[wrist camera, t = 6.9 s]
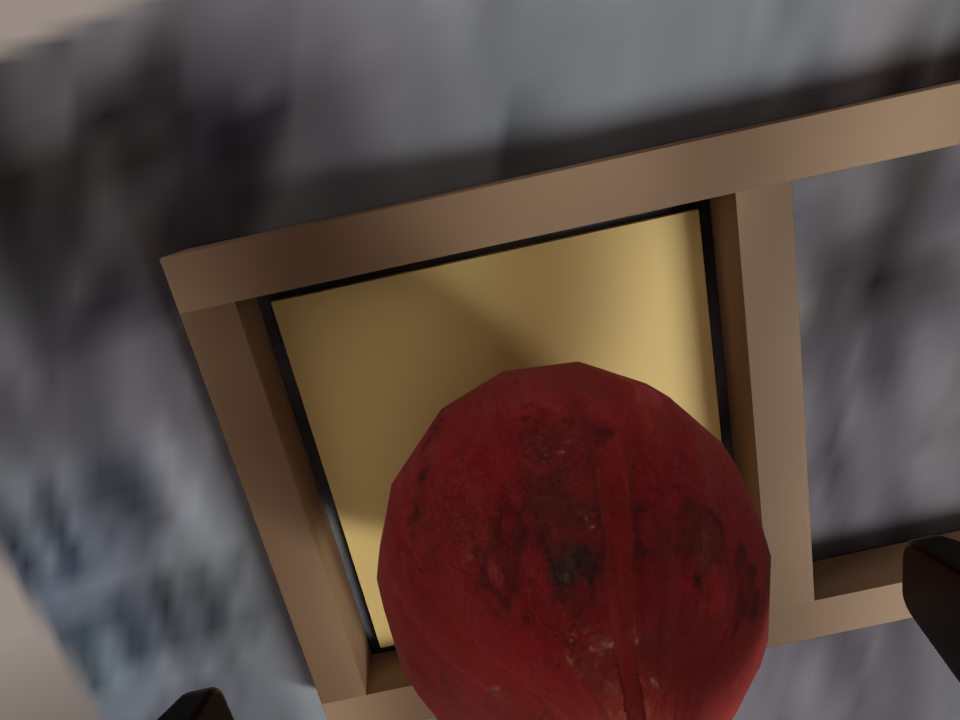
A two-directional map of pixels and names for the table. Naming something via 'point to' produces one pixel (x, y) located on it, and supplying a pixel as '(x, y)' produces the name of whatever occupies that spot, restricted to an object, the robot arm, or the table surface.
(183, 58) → the table surface
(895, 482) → the table surface
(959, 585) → the robot arm
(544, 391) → the red pomegranate
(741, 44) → the table surface
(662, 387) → the wooden divided frame
